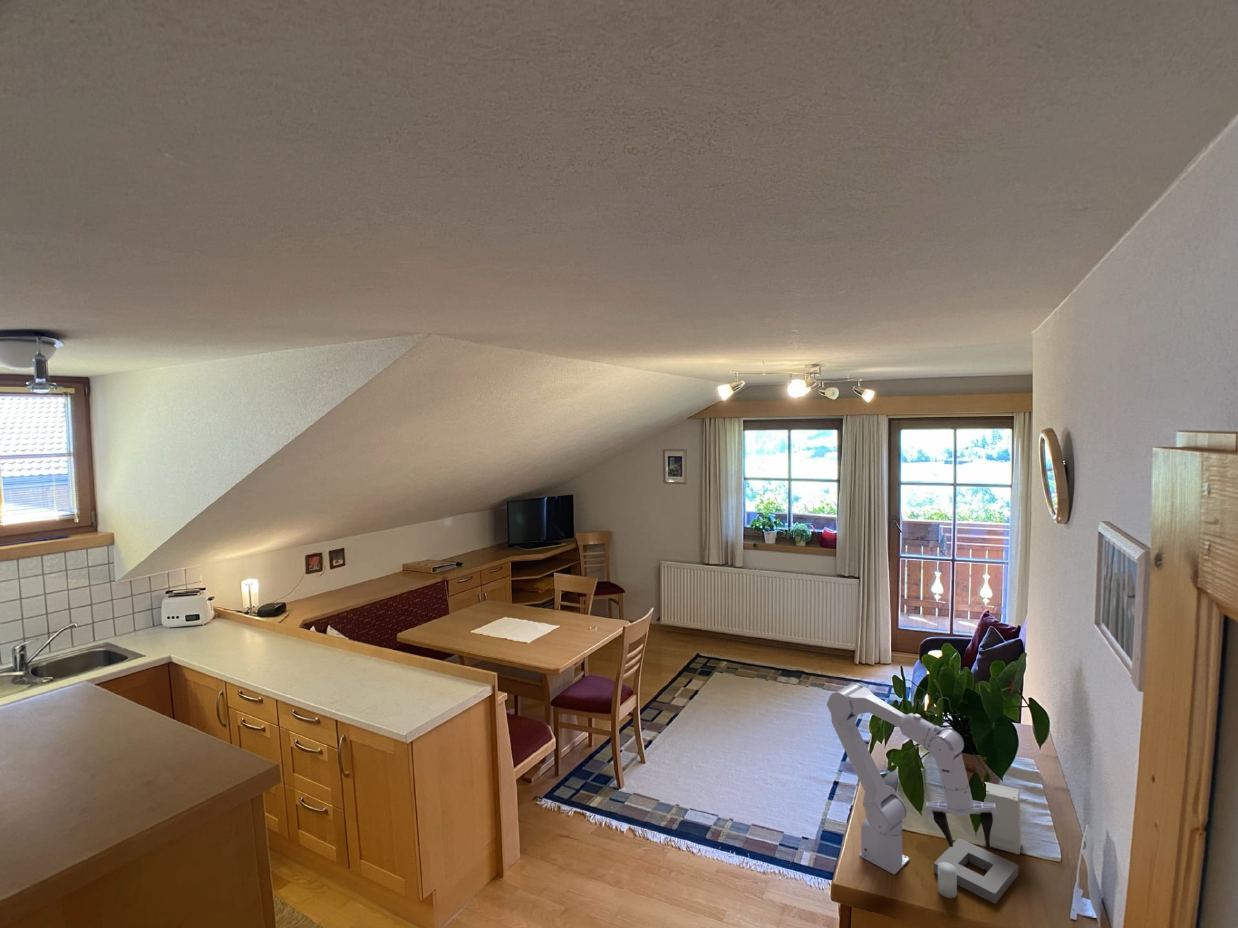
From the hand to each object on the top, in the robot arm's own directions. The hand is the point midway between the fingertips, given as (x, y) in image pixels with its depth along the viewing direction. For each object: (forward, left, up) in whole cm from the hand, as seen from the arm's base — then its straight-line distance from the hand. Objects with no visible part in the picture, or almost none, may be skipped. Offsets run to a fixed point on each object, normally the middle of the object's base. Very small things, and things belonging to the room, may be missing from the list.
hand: (969, 845), depth 149 cm
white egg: (-5, 0, -14) cm, 15 cm away
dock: (-3, +11, -14) cm, 18 cm away
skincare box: (-3, +27, -14) cm, 31 cm away
